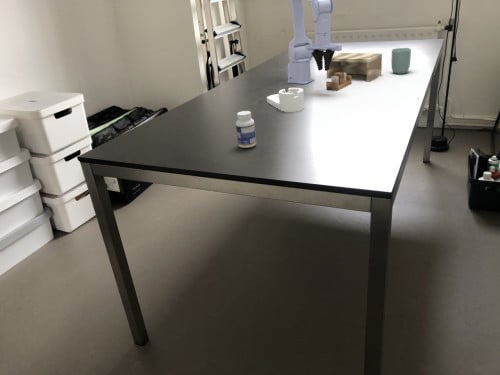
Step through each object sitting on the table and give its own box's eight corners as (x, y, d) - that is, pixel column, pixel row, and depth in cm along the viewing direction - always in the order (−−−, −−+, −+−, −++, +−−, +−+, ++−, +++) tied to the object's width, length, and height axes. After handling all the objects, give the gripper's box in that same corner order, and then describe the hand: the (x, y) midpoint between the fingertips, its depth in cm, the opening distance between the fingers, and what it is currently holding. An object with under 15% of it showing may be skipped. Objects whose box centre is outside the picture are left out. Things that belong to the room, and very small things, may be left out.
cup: (410, 74, 188) (412, 50, 184) (391, 75, 190) (392, 51, 186) (408, 70, 195) (409, 47, 191) (390, 71, 197) (391, 48, 193)
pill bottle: (237, 142, 133) (234, 111, 129) (255, 140, 133) (252, 109, 129) (238, 149, 128) (235, 116, 124) (257, 146, 128) (254, 114, 124)
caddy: (326, 90, 179) (326, 76, 176) (340, 83, 187) (340, 69, 184) (337, 91, 176) (337, 76, 173) (351, 84, 184) (351, 70, 181)
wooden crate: (326, 79, 196) (326, 58, 192) (340, 73, 204) (339, 52, 200) (369, 81, 184) (369, 59, 180) (381, 75, 192) (381, 53, 188)
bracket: (308, 109, 158) (307, 90, 155) (286, 114, 155) (284, 95, 152) (285, 98, 175) (284, 81, 172) (264, 102, 173) (263, 85, 170)
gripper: (300, 34, 165) (302, 71, 171) (334, 34, 156) (335, 73, 162) (310, 31, 170) (311, 67, 176) (344, 31, 161) (344, 69, 167)
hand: (323, 70), depth 169 cm, fingers closed
